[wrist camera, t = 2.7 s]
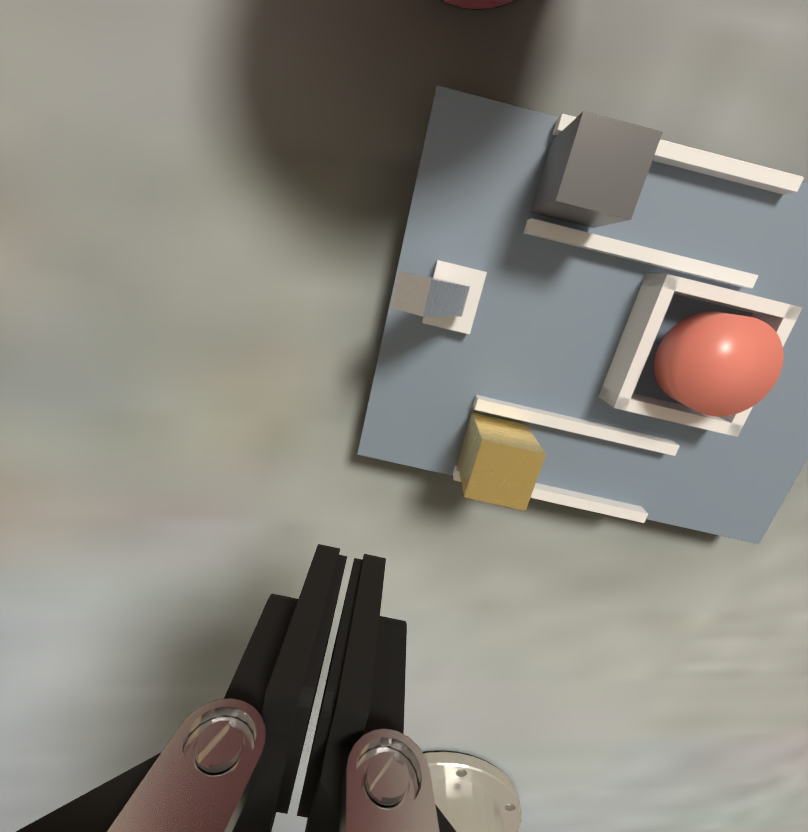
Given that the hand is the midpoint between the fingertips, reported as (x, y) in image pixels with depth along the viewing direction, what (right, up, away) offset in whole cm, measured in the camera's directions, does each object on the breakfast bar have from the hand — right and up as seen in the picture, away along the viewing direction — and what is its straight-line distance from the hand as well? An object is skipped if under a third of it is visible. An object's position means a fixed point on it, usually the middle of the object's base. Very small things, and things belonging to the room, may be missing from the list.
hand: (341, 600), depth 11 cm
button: (+16, +7, +10) cm, 20 cm away
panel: (+13, +9, +14) cm, 21 cm away
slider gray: (+9, +15, +10) cm, 20 cm away
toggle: (+4, +10, +11) cm, 15 cm away
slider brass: (+6, +3, +14) cm, 15 cm away
